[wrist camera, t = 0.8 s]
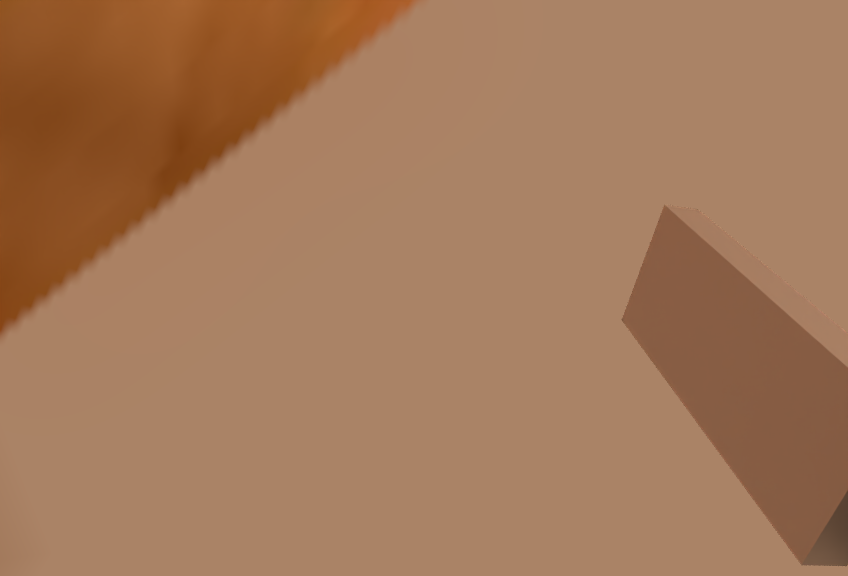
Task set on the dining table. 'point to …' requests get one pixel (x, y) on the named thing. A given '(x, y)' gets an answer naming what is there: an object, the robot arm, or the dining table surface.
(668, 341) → the robot arm
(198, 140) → the dining table surface
